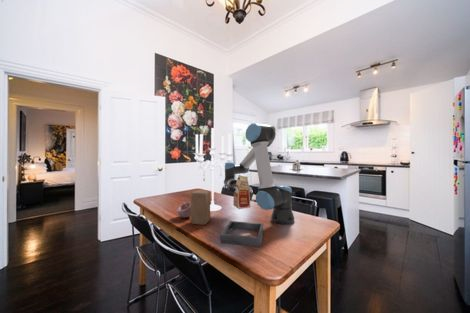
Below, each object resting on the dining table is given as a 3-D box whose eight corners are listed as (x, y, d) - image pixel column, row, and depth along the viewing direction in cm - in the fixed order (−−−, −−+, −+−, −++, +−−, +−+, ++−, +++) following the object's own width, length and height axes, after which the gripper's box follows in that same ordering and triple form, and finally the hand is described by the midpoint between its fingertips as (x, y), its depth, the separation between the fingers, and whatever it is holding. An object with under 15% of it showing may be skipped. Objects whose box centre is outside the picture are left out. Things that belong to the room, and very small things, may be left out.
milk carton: (238, 209, 115) (238, 175, 115) (232, 205, 123) (232, 174, 123) (252, 207, 118) (252, 175, 118) (245, 203, 127) (245, 173, 127)
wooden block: (205, 225, 119) (205, 193, 119) (190, 224, 121) (190, 192, 121) (210, 219, 129) (210, 190, 129) (196, 218, 131) (196, 189, 131)
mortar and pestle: (173, 217, 135) (173, 200, 135) (189, 213, 143) (188, 198, 142) (181, 221, 126) (181, 204, 126) (197, 217, 134) (197, 201, 134)
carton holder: (263, 230, 111) (263, 223, 111) (260, 246, 92) (260, 238, 92) (230, 227, 116) (230, 220, 115) (220, 242, 96) (220, 234, 96)
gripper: (247, 188, 141) (260, 195, 119) (219, 190, 135) (228, 197, 113) (246, 178, 141) (260, 183, 119) (219, 180, 135) (227, 185, 113)
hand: (244, 190), depth 116 cm, fingers closed on milk carton, 8 cm apart
